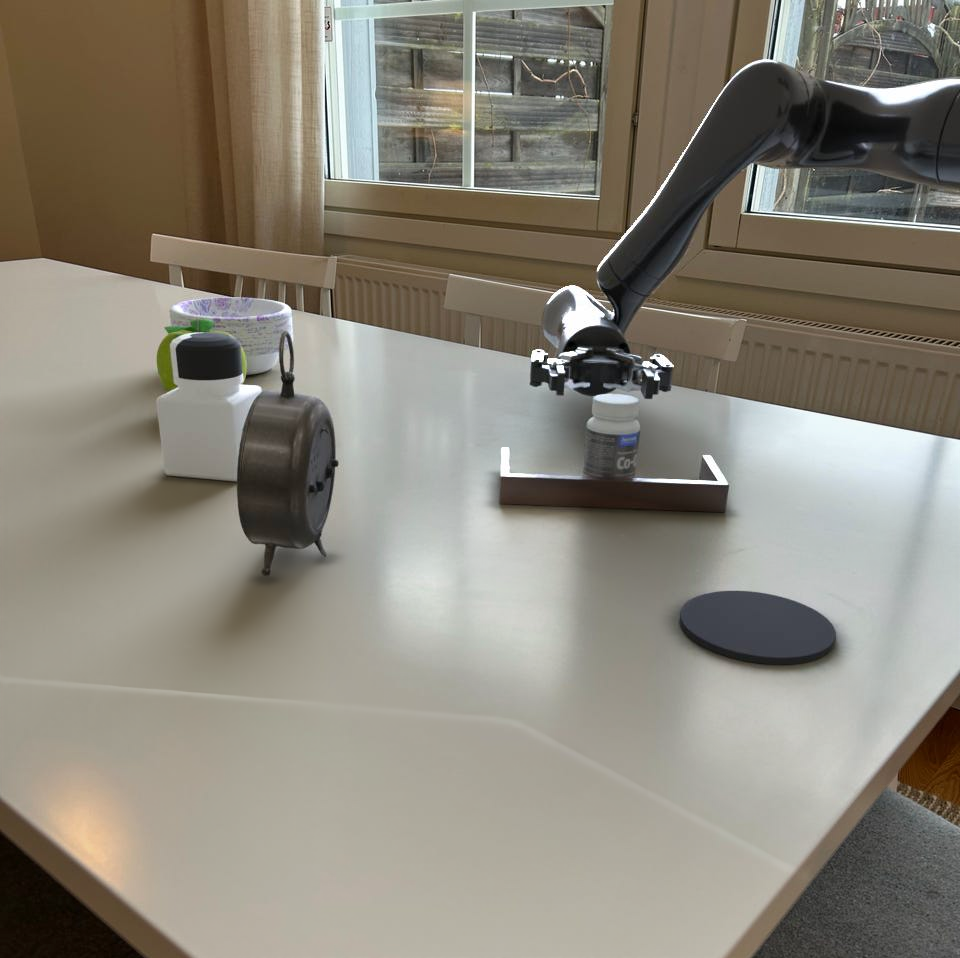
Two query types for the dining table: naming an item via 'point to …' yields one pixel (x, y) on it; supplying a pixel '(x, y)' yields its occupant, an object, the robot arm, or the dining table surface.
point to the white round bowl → (242, 325)
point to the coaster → (757, 627)
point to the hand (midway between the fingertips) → (605, 386)
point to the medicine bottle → (204, 407)
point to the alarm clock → (285, 467)
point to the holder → (616, 490)
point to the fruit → (165, 355)
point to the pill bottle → (612, 437)
